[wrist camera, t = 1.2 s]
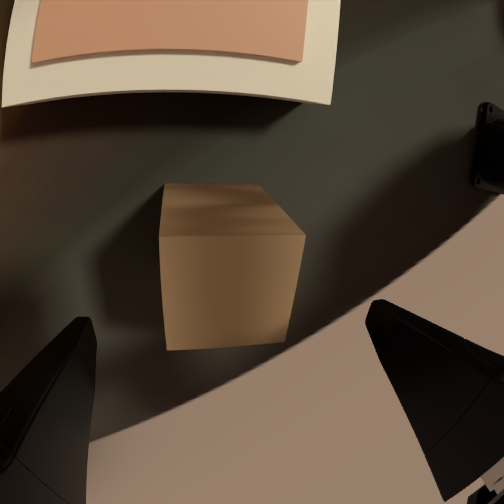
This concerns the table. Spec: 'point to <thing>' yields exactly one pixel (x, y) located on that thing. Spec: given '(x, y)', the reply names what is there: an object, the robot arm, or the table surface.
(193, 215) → the walnut block
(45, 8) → the plinth
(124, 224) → the table surface
